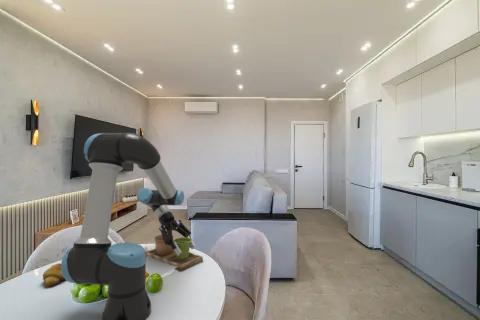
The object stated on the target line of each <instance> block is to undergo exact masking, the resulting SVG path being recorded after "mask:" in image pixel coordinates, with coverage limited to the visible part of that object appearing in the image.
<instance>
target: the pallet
mask: <svg viewBox="0 0 480 320" xmlns="http://www.w3.org/2000/svg"><path fill="white" fill-rule="evenodd" d="M145 256H146V257H147V256H148V257H150V258H152V259H155V260H158V261H160V262H163V263H166V264H167V265H170V266H173V267H175V268H174V270H175V271H178V272H180V273H182V272H184V271H186V270H188V269H190V268H193V267H194V266H197V265H199V264H201V263H203V262H204V259H203V256H202V255H199V254H196V253H194V252H190V251H189V255H188V257H187V258H186V259H179V258H178V259H177V258H176V253H175V251H174V250H173V253H172V254H169V255H167V256H157V255H156V252H155V248H154V249H150V250H148V251H145Z"/></svg>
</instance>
